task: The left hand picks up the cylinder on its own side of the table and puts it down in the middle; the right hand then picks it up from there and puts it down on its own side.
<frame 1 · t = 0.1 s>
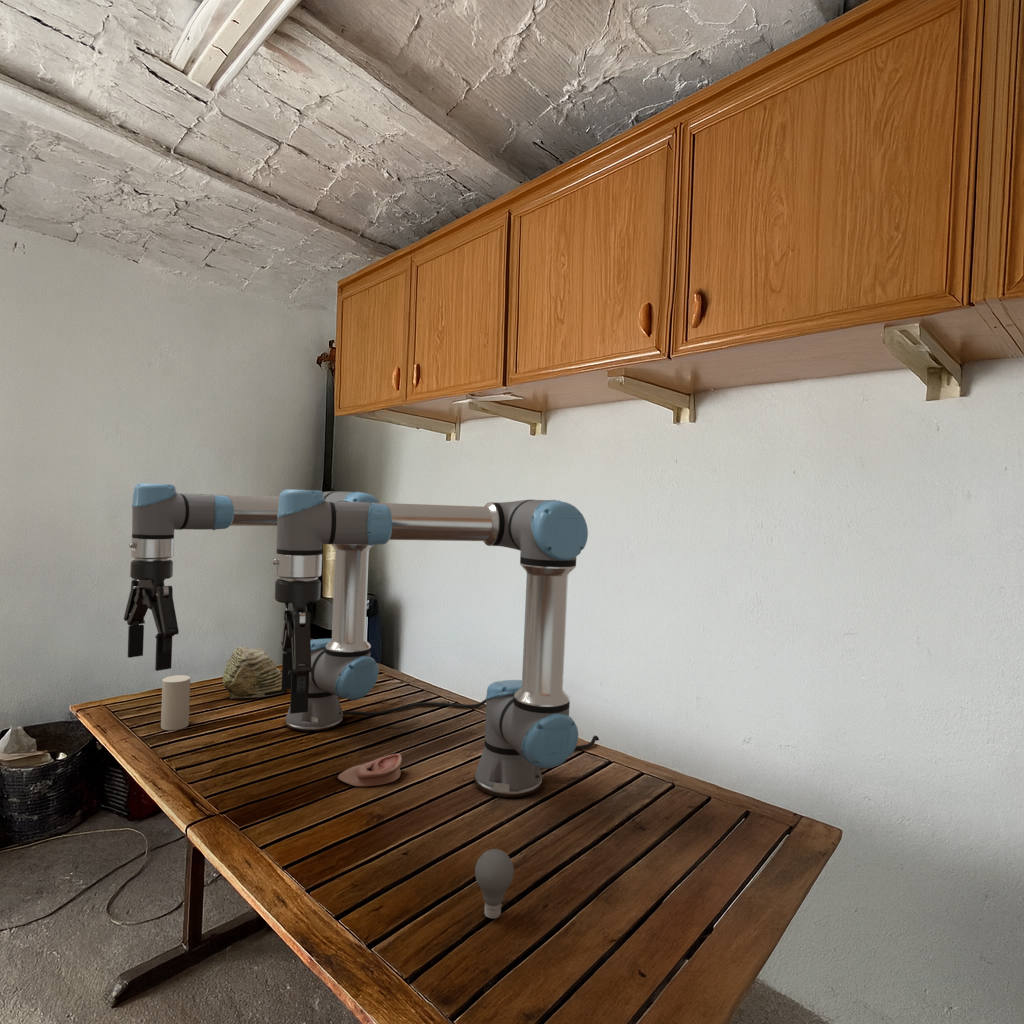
left hand: (148, 662, 129), 28 cm above the table, tool pointing down, fingers open, 13 cm apart
right hand: (293, 699, 110), 28 cm above the table, tool pointing down, fingers open, 13 cm apart
fossil: (254, 694, 198), on the table
light bulb: (492, 917, 98), on the table
cylinder: (174, 725, 170), on the table
anatomical model: (370, 776, 144), on the table
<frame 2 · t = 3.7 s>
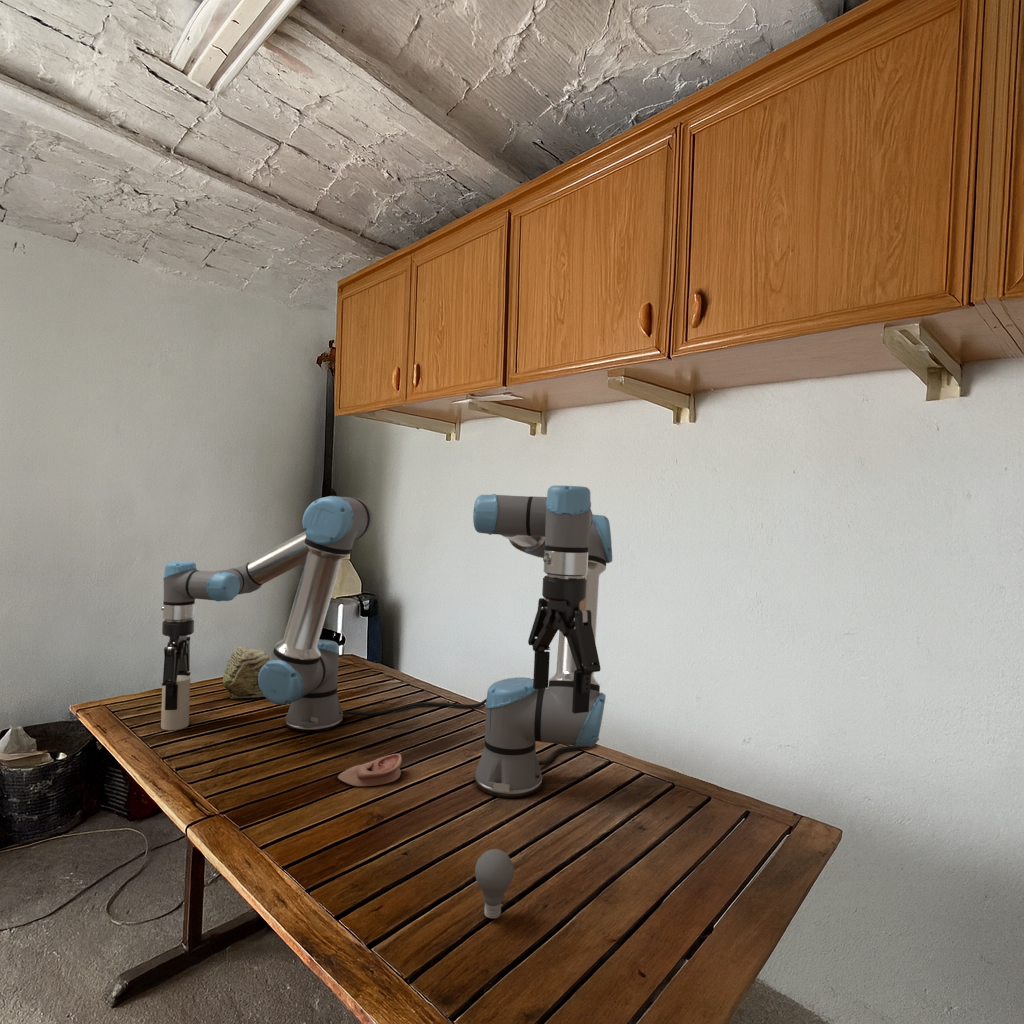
left hand: (175, 704, 170), 6 cm above the table, tool pointing down, fingers closed on cylinder, 7 cm apart
right hand: (559, 699, 109), 31 cm above the table, tool pointing down, fingers open, 13 cm apart
cylinder: (174, 725, 170), on the table, touching left hand
everything else where it was.
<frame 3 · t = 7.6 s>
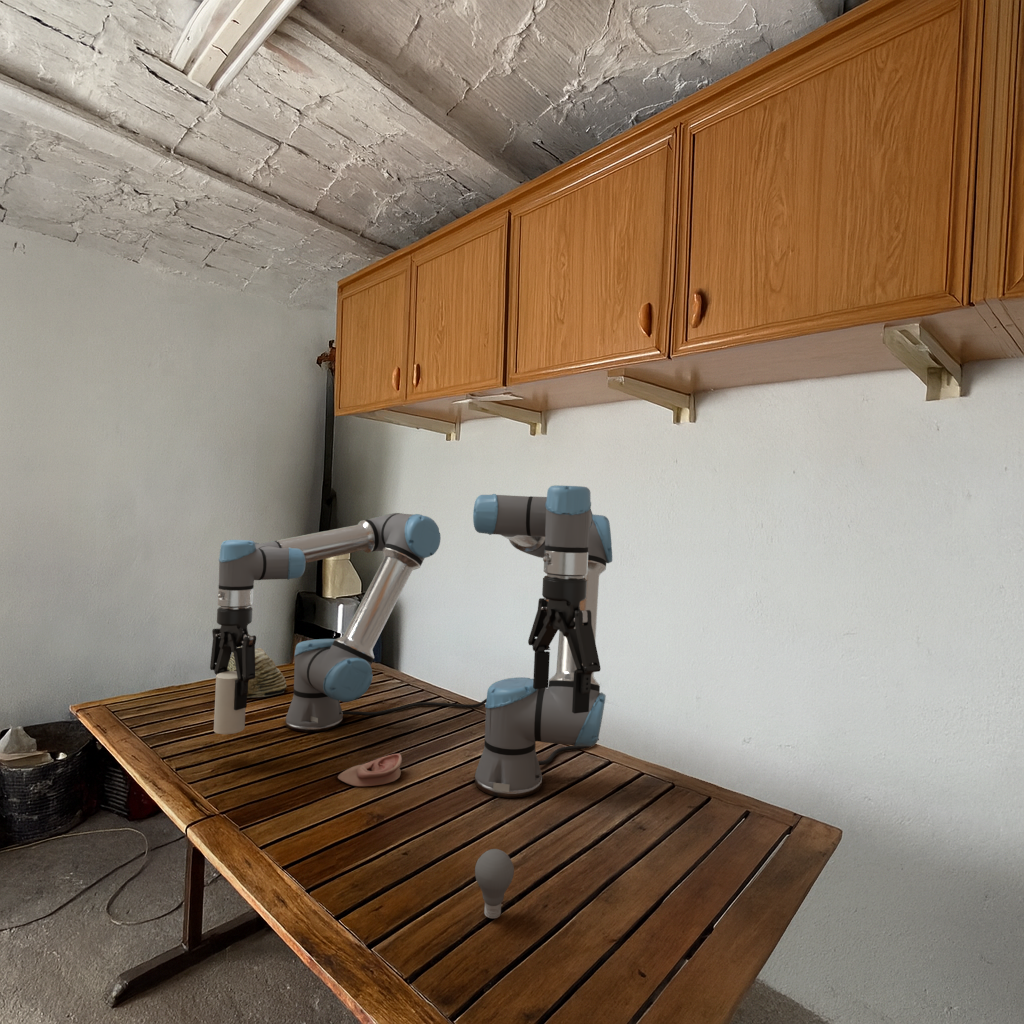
left hand: (230, 704, 147), 14 cm above the table, tool pointing down, fingers closed on cylinder, 7 cm apart
right hand: (559, 699, 109), 31 cm above the table, tool pointing down, fingers open, 13 cm apart
cylinder: (229, 729, 147), point 8 cm above the table, touching left hand
everything else where it was.
when the left hand's fingers open (7 cm above the table, at t = 11.4 s): cylinder drops 1 cm, on the table.
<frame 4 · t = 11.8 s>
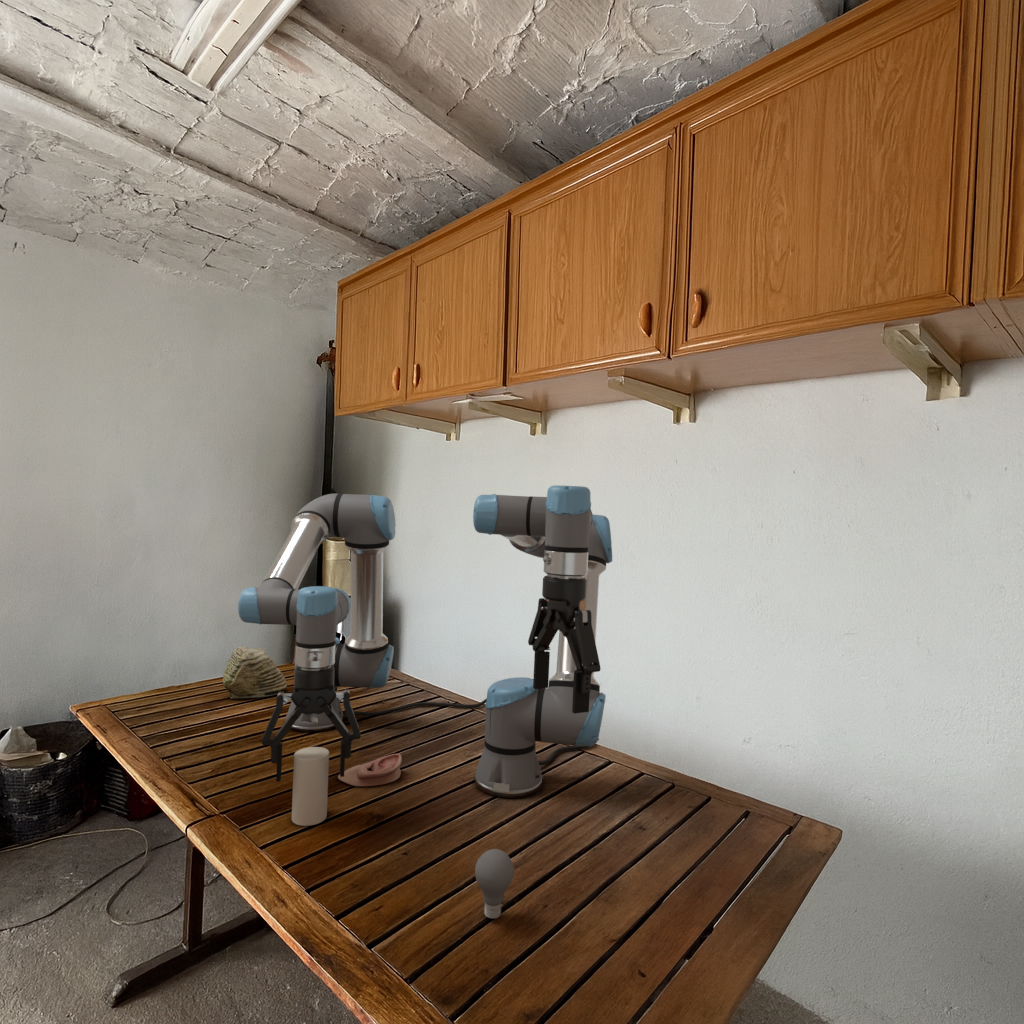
left hand: (310, 776, 125), 8 cm above the table, tool pointing down, fingers open, 11 cm apart
right hand: (559, 699, 109), 31 cm above the table, tool pointing down, fingers open, 13 cm apart
cylinder: (309, 817, 125), on the table
everything else where it was.
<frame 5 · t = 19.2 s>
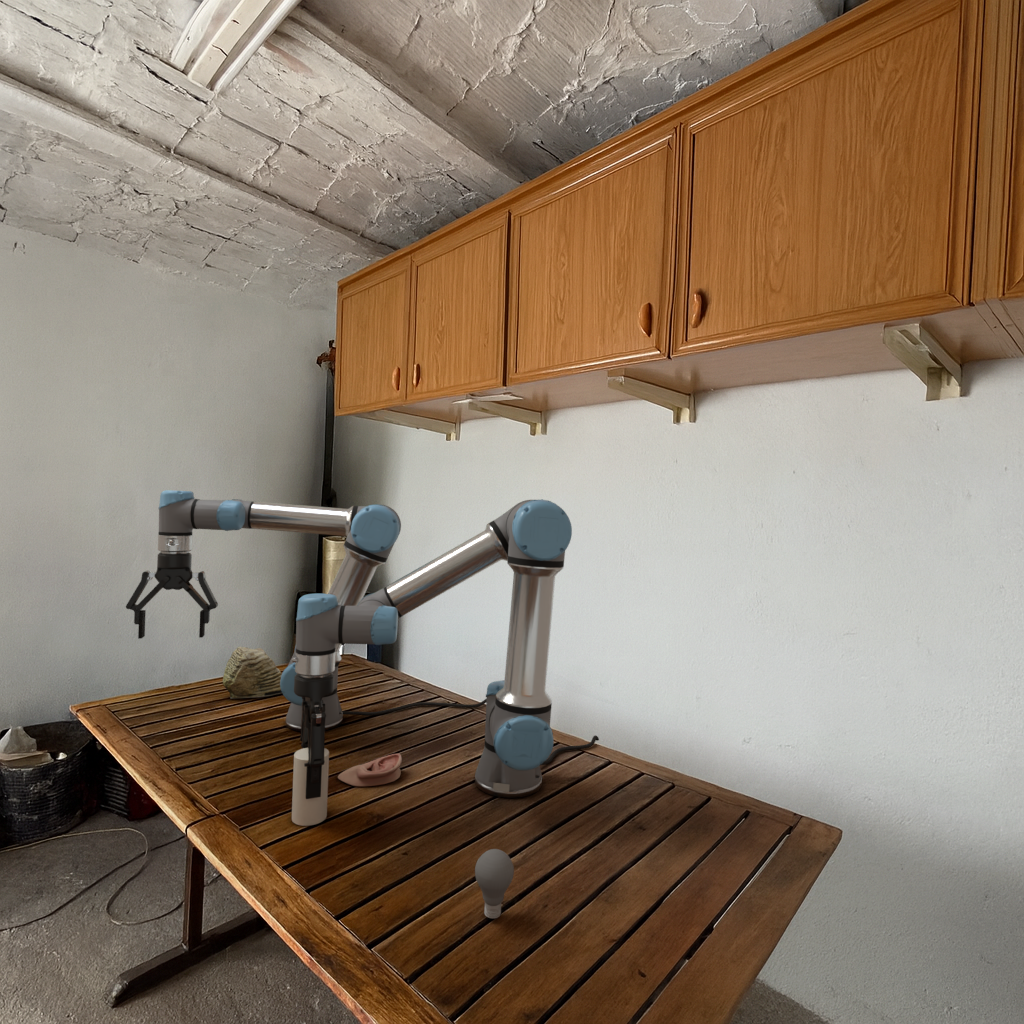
left hand: (172, 637, 158), 26 cm above the table, tool pointing down, fingers open, 13 cm apart
right hand: (310, 788, 125), 6 cm above the table, tool pointing down, fingers closed on cylinder, 7 cm apart
cylinder: (309, 817, 125), on the table, touching right hand
everything else where it was.
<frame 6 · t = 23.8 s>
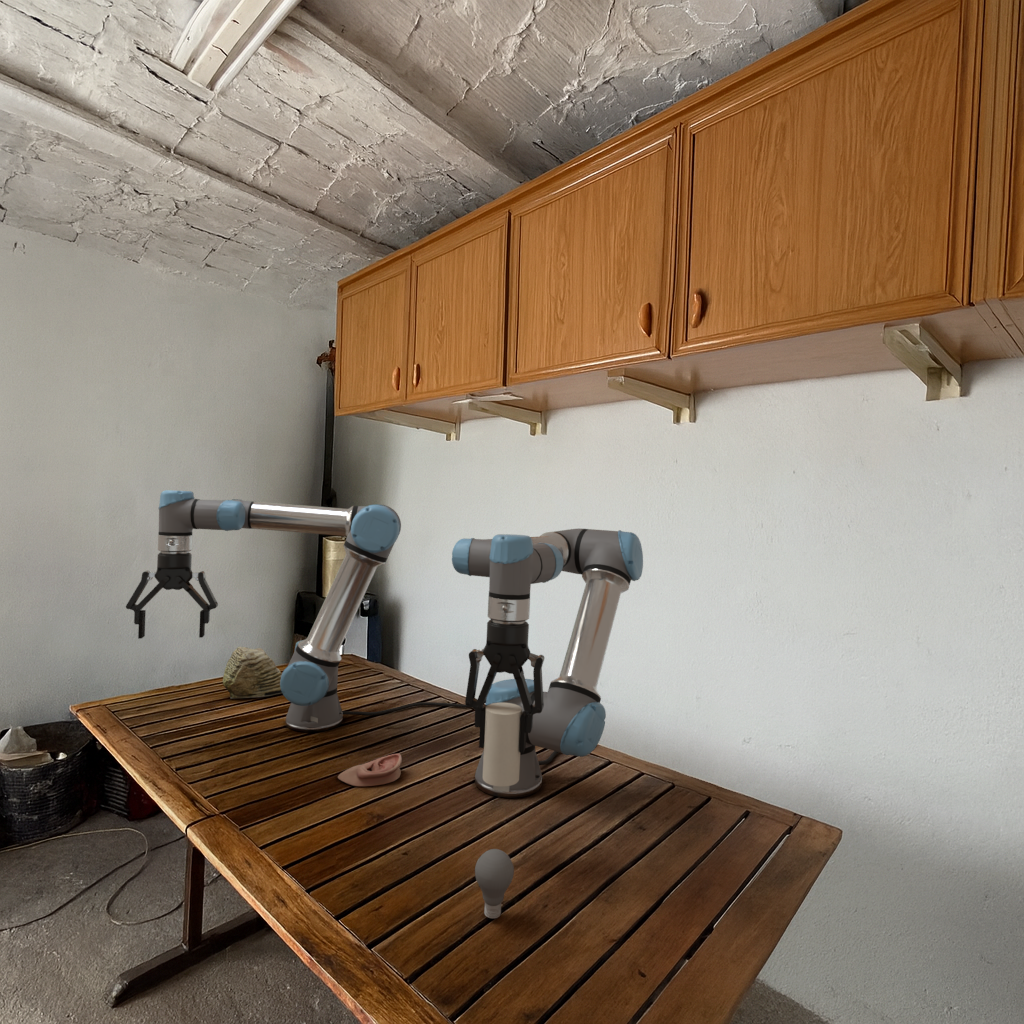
left hand: (172, 637, 158), 26 cm above the table, tool pointing down, fingers open, 13 cm apart
right hand: (502, 747, 114), 20 cm above the table, tool pointing down, fingers closed on cylinder, 7 cm apart
cylinder: (500, 778, 114), point 14 cm above the table, touching right hand
everything else where it was.
when the right hand's fingers open (7 cm above the table, at t = 28.7 s): cylinder drops 1 cm, on the table.
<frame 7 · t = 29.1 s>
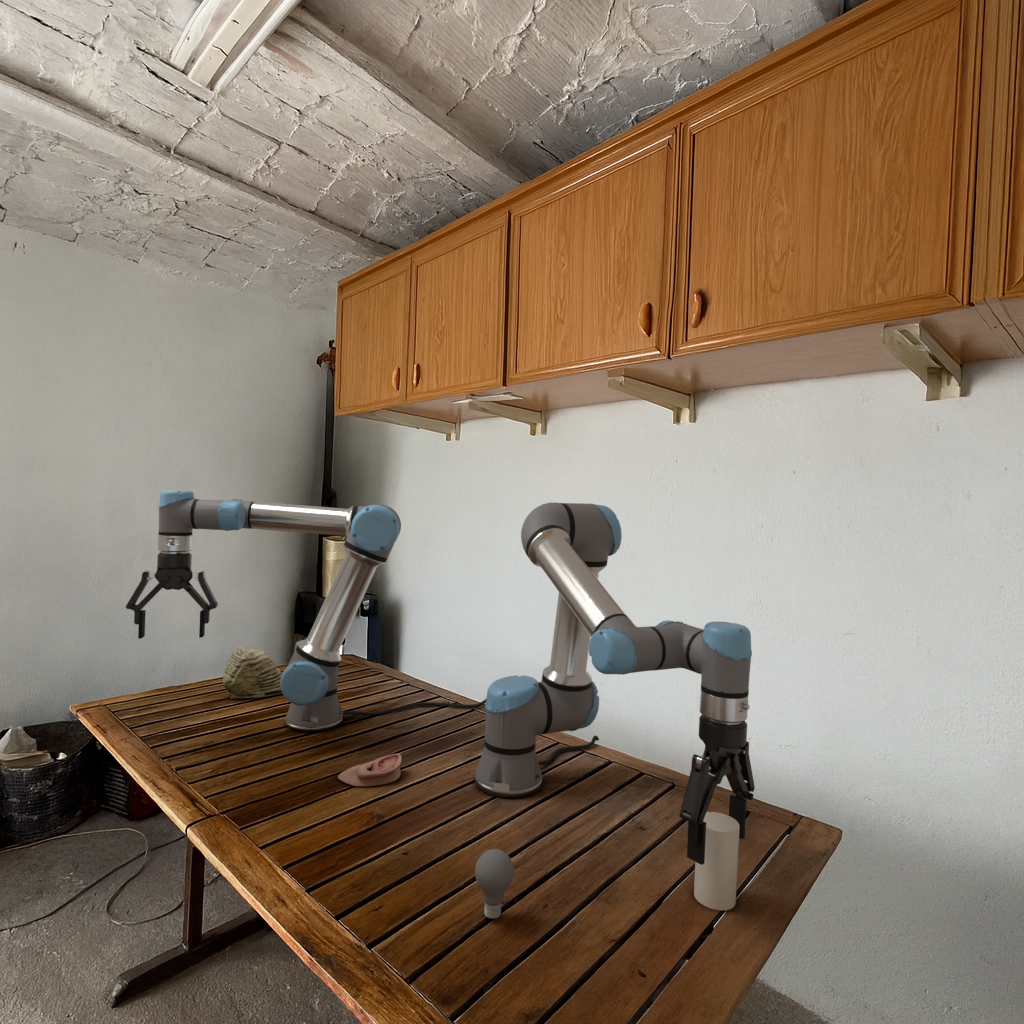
left hand: (172, 637, 158), 26 cm above the table, tool pointing down, fingers open, 13 cm apart
right hand: (716, 847, 105), 8 cm above the table, tool pointing down, fingers open, 12 cm apart
cylinder: (714, 897, 105), on the table
everything else where it was.
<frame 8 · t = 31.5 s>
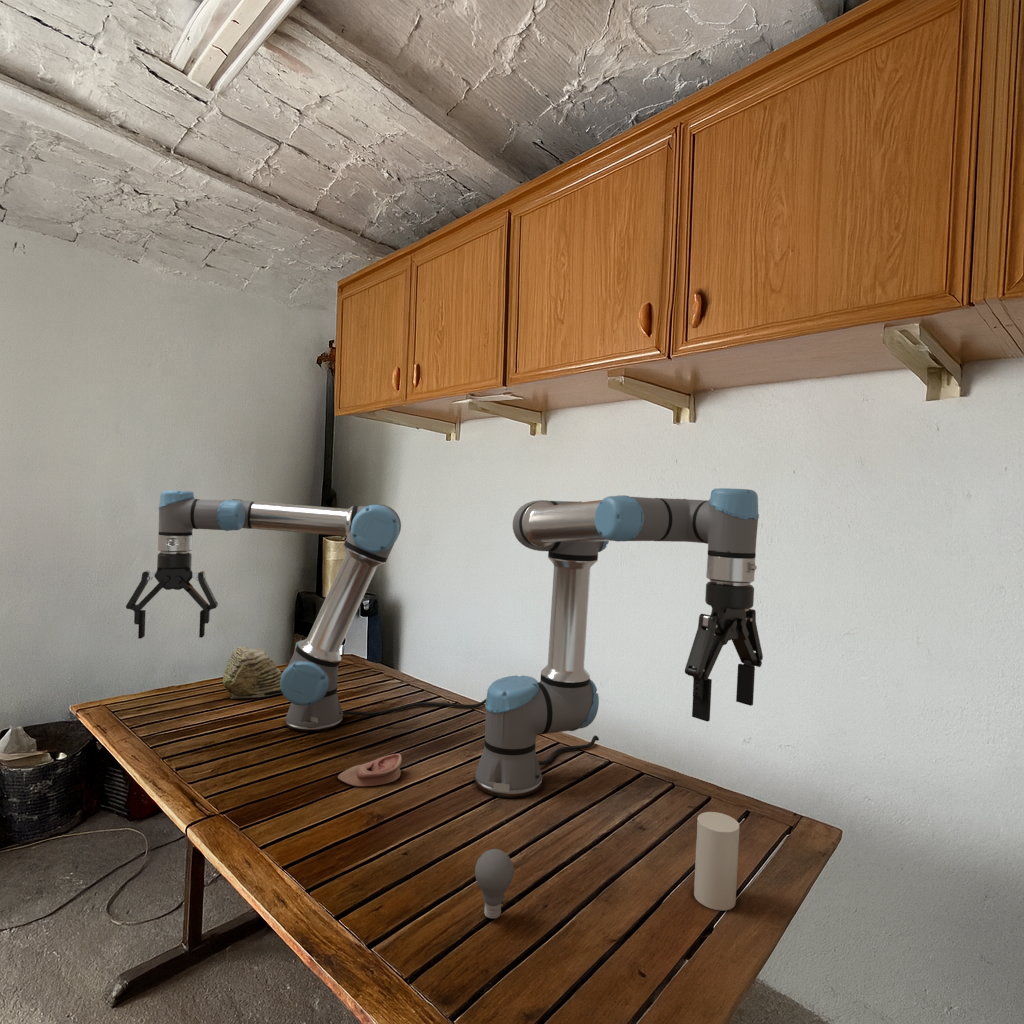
left hand: (172, 637, 158), 26 cm above the table, tool pointing down, fingers open, 13 cm apart
right hand: (723, 710, 104), 31 cm above the table, tool pointing down, fingers open, 13 cm apart
nothing on the table moved.
at the end: cylinder inside the target area (0.1 cm from its centre), on the table; cylinder tilted 0°; the two hands never held the cylinder at the same time; the left hand is holding nothing; the right hand is holding nothing; cylinder at rest at the end (0.0 cm/s) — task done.
